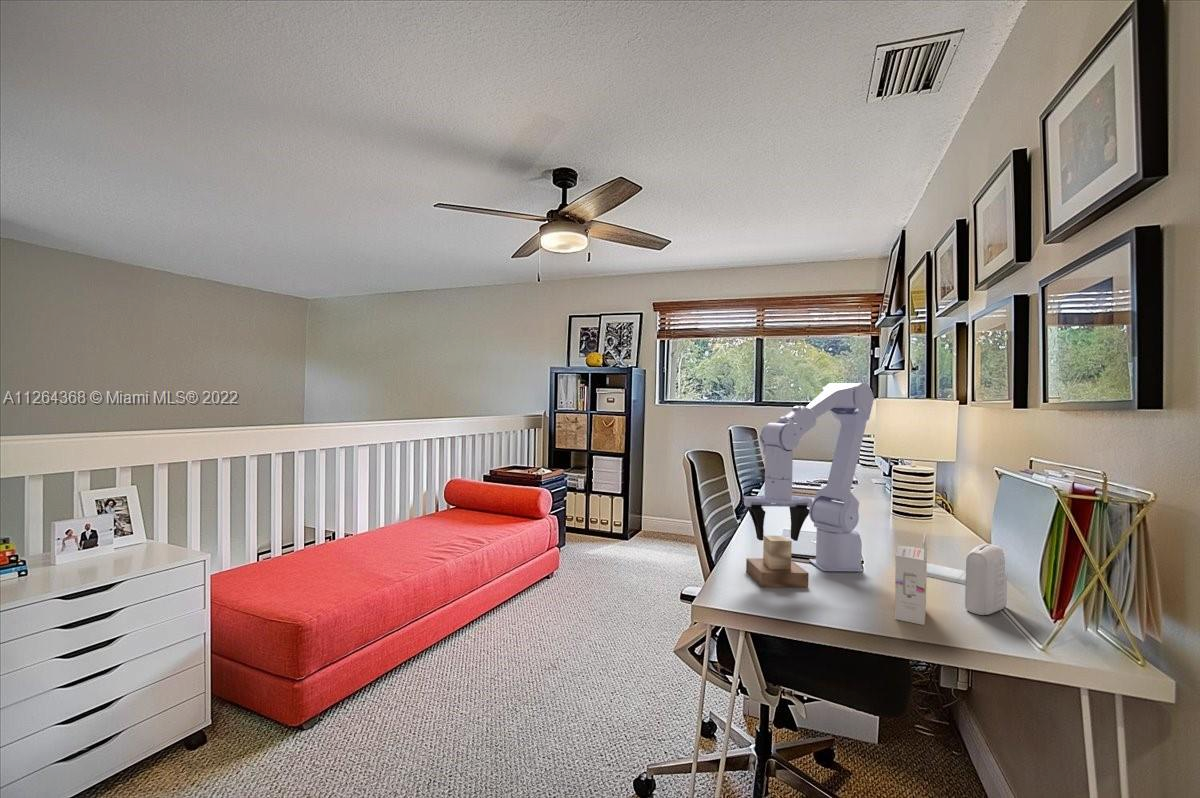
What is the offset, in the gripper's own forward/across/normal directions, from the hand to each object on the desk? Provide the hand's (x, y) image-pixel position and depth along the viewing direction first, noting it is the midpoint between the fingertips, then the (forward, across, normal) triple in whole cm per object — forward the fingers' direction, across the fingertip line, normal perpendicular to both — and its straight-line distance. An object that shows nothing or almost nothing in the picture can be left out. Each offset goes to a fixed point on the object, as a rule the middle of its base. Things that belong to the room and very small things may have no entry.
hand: (777, 539), depth 117 cm
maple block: (+6, 0, 0) cm, 6 cm away
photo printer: (+9, +35, -16) cm, 39 cm away
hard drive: (+10, +40, +5) cm, 41 cm away
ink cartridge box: (+9, +18, -19) cm, 28 cm away
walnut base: (+9, 0, 0) cm, 9 cm away
